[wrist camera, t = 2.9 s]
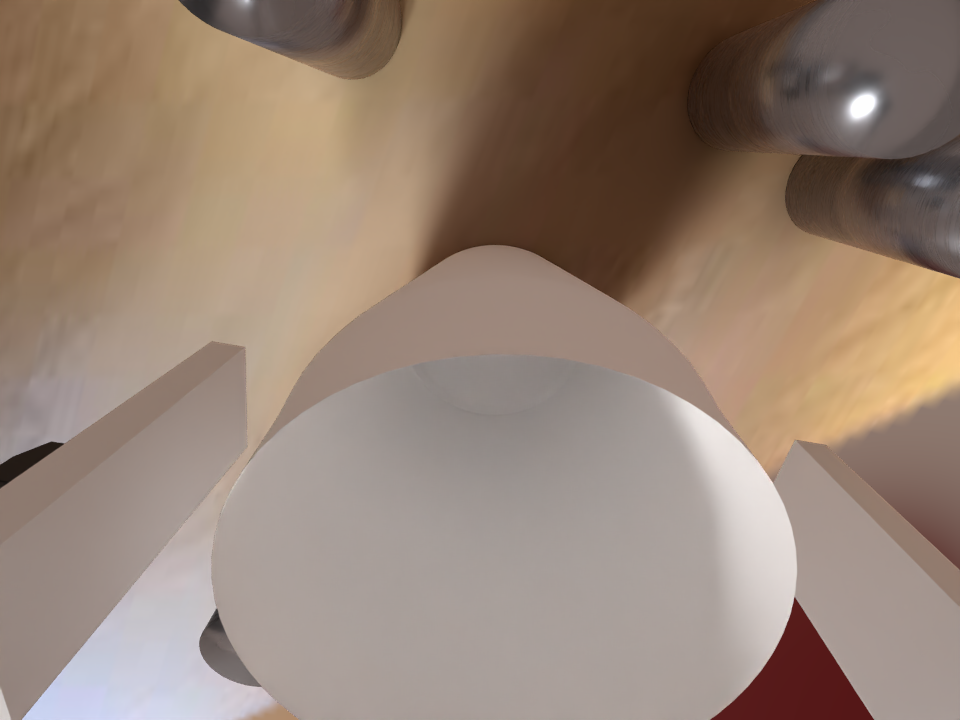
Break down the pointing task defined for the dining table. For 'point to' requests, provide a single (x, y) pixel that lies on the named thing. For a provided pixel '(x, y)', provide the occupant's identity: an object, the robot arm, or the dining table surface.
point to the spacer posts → (741, 119)
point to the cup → (502, 516)
